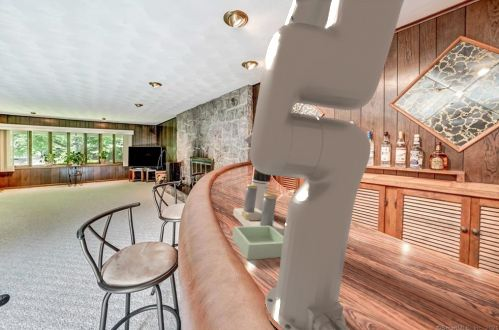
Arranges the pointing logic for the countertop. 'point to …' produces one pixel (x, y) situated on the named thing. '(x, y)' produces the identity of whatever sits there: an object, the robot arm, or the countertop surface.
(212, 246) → the countertop surface
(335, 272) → the robot arm
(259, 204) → the cylindrical container
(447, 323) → the countertop surface
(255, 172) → the deodorant
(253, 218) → the fuse block
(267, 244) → the tray
